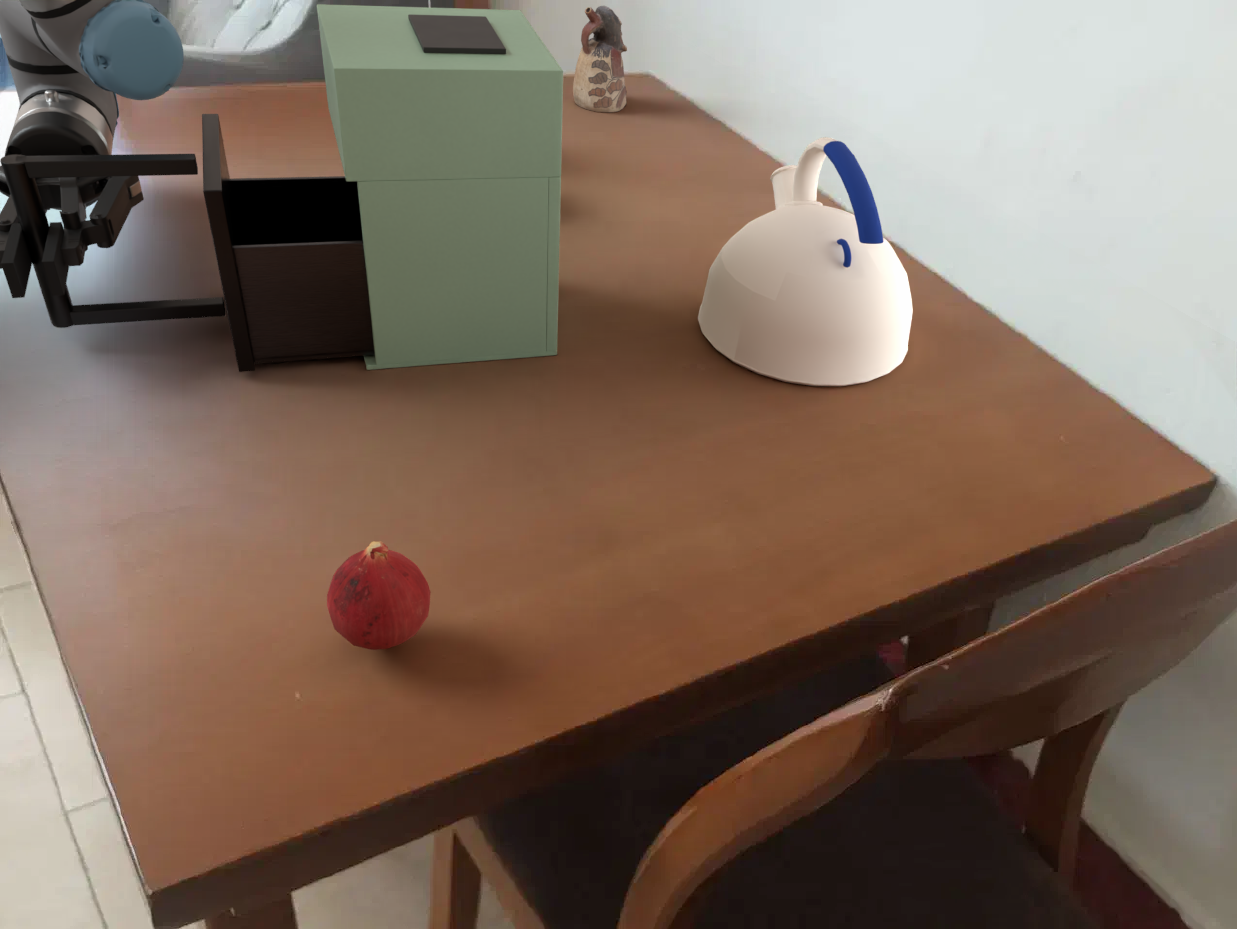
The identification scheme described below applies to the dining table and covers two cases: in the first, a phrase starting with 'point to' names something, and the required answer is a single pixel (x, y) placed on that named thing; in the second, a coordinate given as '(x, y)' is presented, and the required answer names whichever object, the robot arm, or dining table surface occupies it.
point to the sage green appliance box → (450, 177)
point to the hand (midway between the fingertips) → (33, 279)
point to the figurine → (601, 63)
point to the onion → (378, 598)
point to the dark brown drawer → (235, 253)
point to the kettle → (811, 283)
